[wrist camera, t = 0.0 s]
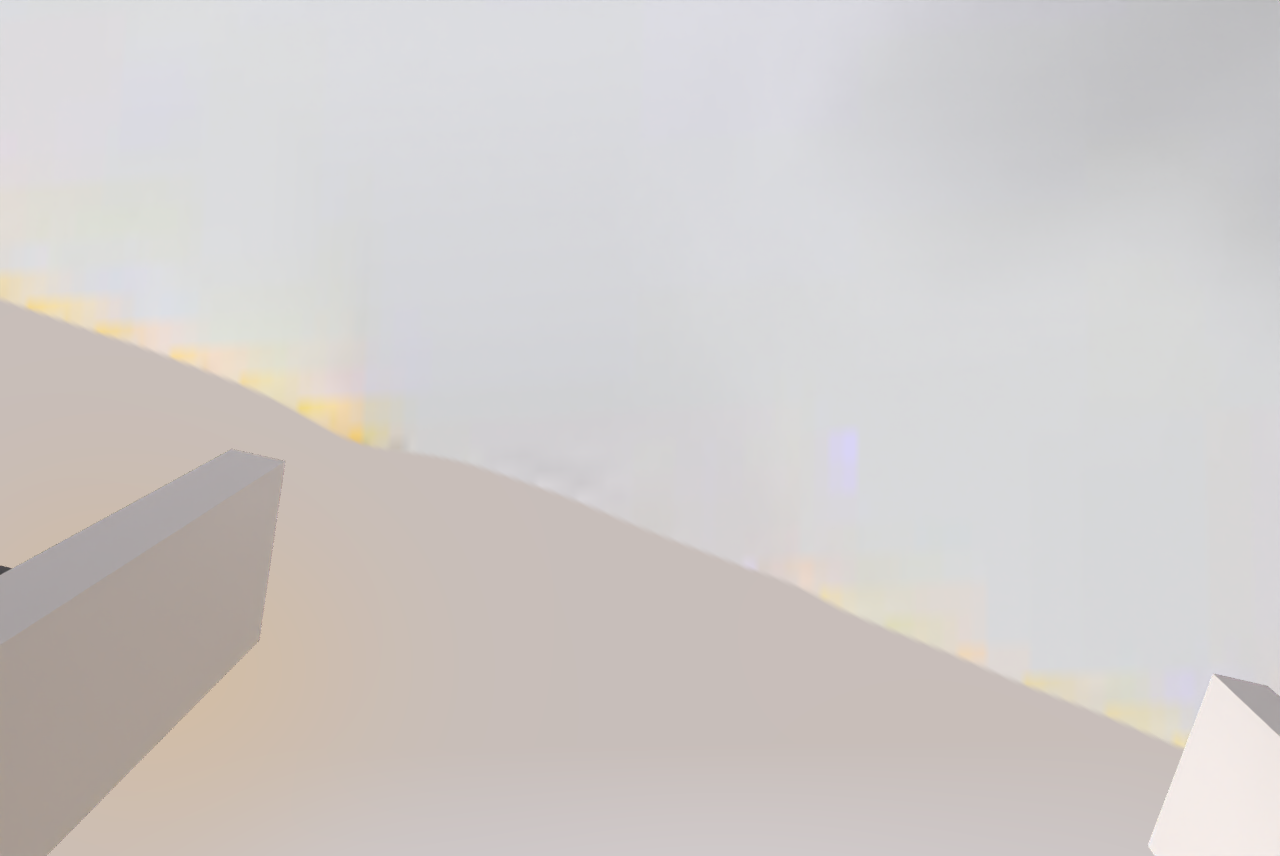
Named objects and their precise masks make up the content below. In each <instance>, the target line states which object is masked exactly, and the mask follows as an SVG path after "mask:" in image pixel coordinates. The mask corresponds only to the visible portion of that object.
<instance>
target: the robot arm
mask: <svg viewBox="0 0 1280 856" xmlns="http://www.w3.org/2000/svg"><path fill="white" fill-rule="evenodd" d="M284 466H285V461H283V460H279V459H274V458H269V457H266V456H261V455H256V454H253V453H248V452H244V451H239V450H235V449H230V450H229V451H227V452H225V453H223V454H221V455H220V456H218V457H216V458H214V459H212V460H210V461H208V462H206V463H205V464H203V465H201V466H199V467H197V468H196V469H194V470H192V471H190V472H188V473H187V474H184V475H183V476H181V477H179V478H177V479H175V480H173V481H172V482H170V483H168V484H166V485H164V486H163V487H161V488H159V489H157V490H155V491H153V492H152V493H150V494H148V495H146V496H144V497H142V498H141V499H139V500H137V501H135V502H133V503H131V504H129V505H128V506H126V507H124V508H122V509H120V510H118V511H117V512H115V513H113V514H111V515H109V516H107V517H106V518H104V519H102V520H100V521H98V522H97V523H95V524H93V525H91V526H89V527H87V528H86V529H84V530H82V531H80V532H78V533H76V534H74V535H73V536H71V537H69V538H67V539H65V540H63V541H62V542H60V543H58V544H56V545H54V546H52V547H51V548H49V549H47V550H45V551H43V552H41V553H40V554H38V555H36V556H34V557H32V558H31V559H29V560H27V561H25V562H23V563H21V564H19V565H18V566H16V567H14V568H8V567H4V566H0V856H47V855H48V854H49V853H50V852H51V851H52V850H53V849H54V848H55V847H56V846H57V845H58V844H59V843H60V842H61V841H62V840H63V839H64V837H66V835H68V834H69V833H70V831H71V830H73V829H74V827H76V826H77V824H78V823H79V822H80V821H81V820H82V819H83V818H84V817H85V816H86V815H87V814H88V813H89V812H90V811H91V810H92V809H93V808H94V807H95V806H96V805H97V804H98V803H99V802H100V801H101V800H102V799H103V798H104V797H105V796H106V795H107V794H108V793H109V792H110V791H111V790H112V789H113V788H114V787H115V786H116V785H117V784H118V783H119V782H120V781H121V780H122V779H123V778H124V777H125V776H126V775H127V774H128V773H129V772H130V771H131V770H132V769H133V768H134V767H135V766H136V765H137V764H138V763H139V762H140V761H141V760H142V759H143V758H144V757H145V756H146V755H147V754H148V753H149V752H150V751H151V750H152V749H153V748H154V746H155V745H157V744H158V742H160V740H162V739H163V737H164V736H165V735H166V734H167V733H168V732H169V731H170V730H171V729H172V728H173V727H174V726H175V725H176V724H177V723H178V722H179V721H180V720H181V719H182V718H183V717H184V716H185V715H186V714H187V713H188V712H189V711H190V710H191V709H192V708H193V707H194V706H195V705H196V704H197V703H198V702H199V701H200V700H201V699H202V698H203V697H204V696H205V695H206V694H207V693H208V692H209V691H210V690H211V689H212V688H213V687H214V686H215V685H216V684H217V683H218V682H219V681H220V680H221V679H222V678H223V677H224V676H225V675H226V674H227V672H229V671H230V670H231V669H232V668H233V667H234V666H235V665H236V663H237V662H239V660H240V659H242V658H243V657H244V656H245V654H247V653H248V652H249V650H250V649H252V647H253V646H254V645H255V644H256V643H257V642H258V641H259V638H260V632H261V625H262V617H263V611H264V604H265V597H266V590H267V583H268V576H269V570H270V563H271V556H272V549H273V543H274V536H275V529H276V522H277V514H278V507H279V501H280V495H281V488H282V481H283V474H284ZM1148 847H1149V848H1150V850H1151V851H1152V853H1153V854H1154V855H1155V856H1280V696H1278V695H1277V694H1276V693H1275V692H1274V691H1273V690H1272V689H1270V688H1269V687H1268V686H1266V685H1261V684H1257V683H1252V682H1248V681H1244V680H1239V679H1235V678H1231V677H1226V676H1222V675H1218V674H1213V675H1212V677H1211V680H1210V683H1209V685H1208V688H1207V691H1206V693H1205V696H1204V698H1203V701H1202V704H1201V706H1200V709H1199V712H1198V714H1197V717H1196V720H1195V722H1194V725H1193V728H1192V730H1191V733H1190V735H1189V738H1188V741H1187V743H1186V746H1185V749H1184V751H1183V754H1182V757H1181V759H1180V762H1179V765H1178V767H1177V770H1176V773H1175V775H1174V778H1173V780H1172V783H1171V786H1170V789H1169V791H1168V794H1167V796H1166V799H1165V802H1164V804H1163V807H1162V809H1161V812H1160V815H1159V817H1158V820H1157V823H1156V825H1155V828H1154V831H1153V833H1152V836H1151V838H1150V842H1149V844H1148Z"/></svg>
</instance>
